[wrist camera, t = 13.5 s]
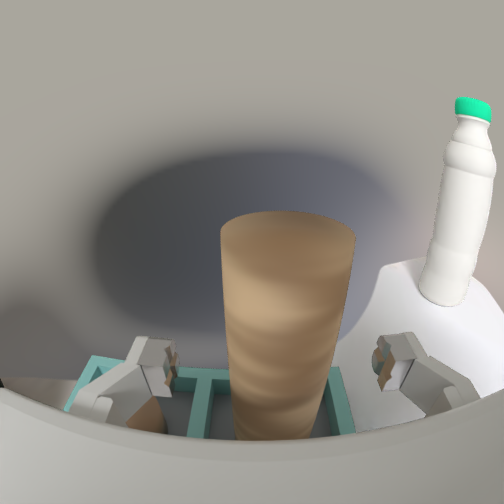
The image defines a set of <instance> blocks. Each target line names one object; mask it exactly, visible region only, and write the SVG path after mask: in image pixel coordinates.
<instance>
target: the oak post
mask: <svg viewBox="0 0 504 504" xmlns="http://www.w3.org/2000/svg"><path fill="white" fill-rule="evenodd" d="M220 233H221V234H220V235H221V257H222V275H223V294H224V308H225V309H224V310H225V325H226V339H227V353H228V365H229V378H230V389H231V401H232V411H233V422H234V432H235V440H240V441H273V440H296V439H309V437H310V434H311V431H312V428H313V425H314V422H315V419H316V416H317V412H318V409H319V406H320V402H321V399H322V396H323V392H324V389H325V385H326V382H327V378H328V374H329V370H330V367H331V363H332V359H333V355H334V351H335V347H336V342H337V338H338V334H339V329H340V325H341V319H342V315H343V311H344V306H345V301H346V296H347V290H348V284H349V279H350V274H351V268H352V262H353V255H354V248H355V241H356V237H355V234H354V232H353V231H352V230H351V229H350V228H349V227H347V226H346V225H344V224H342V223H341V222H338V221H336V220H334V219H331V218H328V217H325V216H321V215H316V214H311V213H305V212H295V211H266V212H256V213H251V214H247V215H243V216H239V217H236V218H234V219H232V220H230V221H228V222H227V223H225V224H224V225H223V227H222V228H221V232H220Z"/></svg>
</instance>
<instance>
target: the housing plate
mask: <svg viewBox="0 0 504 504" xmlns="http://www.w3.org/2000/svg"><path fill="white" fill-rule="evenodd" d="M124 362H125V360H119V359H113V358H106V357H100V356H95V355H92V356H91V358H90V360H89V362H88V364H87V366H86V367H85V369H84V371H83V373H82V374H81V376H80V378H79V380H78V382H77V384H76V386H75V387H74V389H73V391H72V393H71V395H70V397H69V399H68V401H67V403H66V405H65V407H64V409H63V411H66V412H68V411H69V409H70V407H71V405H72V403H73V401H74V399H75V397H76V395H77V393H78V391H79V390H80V389H81V388H83V387H84V386H86V385H88V384H89V383H91V382H92V381H94V380H95V379H97V378H98V377H100V376H101V375H103V374H104V373H106V372H107V371H109V370H111V369H112V368H114V367H115V366H117V365H118V364H120V363H124ZM174 381H175V389H174V393H173V397H162V396H152V397H151V398H150V399H149V400H148V401H147V402H146V403H145V404H144V405H143V406H142V407H141V408H140V409H139V410H138V411H137V412H136V413H135V414H133V415H132V416H131V417H130V418H129V419H128V420H127V421H126V422H125V423H126V424H127V426H128V427H129V428H132V429H137V430H142V431H148V432H154V433H160V434H167V435H174V436H183V437H192V438H203V439H217V440H235V432H234V422H233V411H232V401H231V389H230V378H229V369H210V368H193V367H180V366H179V373H178V377H176V378H175V379H174ZM352 433H356V431H355V426H354V422H353V418H352V414H351V410H350V407H349V403H348V399H347V395H346V391H345V388H344V384H343V380H342V377H341V373H340V369H339V367H330V370H329V374H328V378H327V382H326V385H325V389H324V392H323V396H322V399H321V402H320V406H319V409H318V412H317V416H316V419H315V422H314V425H313V428H312V431H311V434H310V437H309V439H310V438H321V437H330V436H338V435H345V434H352Z"/></svg>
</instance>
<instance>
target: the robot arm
mask: <svg viewBox="0 0 504 504" xmlns="http://www.w3.org/2000/svg"><path fill="white" fill-rule="evenodd" d="M377 345H378V348H377V349H376V350H374V352H373V356H372V367H373V370H374V372H375V373H376V374H377V375H379V377H378V380H377V381H378V383H379V386H380V388H381V391H382V392H384V391H391V390H398V389H400V391H401V392H402V393H403V394H404V395H405V396H407V397H408V398H409V399H410V400H411V401H412V402H413V403H414V404H416V405H417V406H418V407H419V408H420V409H421V410H422V411H423V412H425V413H426V416H425V417H424V418H422V419H419V420H415V421H411V422H407V423H403V424H399V425H394V426H390V427H385V428H380V429H375V430H370V431H364V432H358V433H352V434H345V435H338V436H330V437H321V438H310V439H296V440H273V441H240V440H217V439H203V438H192V437H183V436H174V435H167V434H160V433H154V432H148V431H142V430H137V429H132V428H129V427H128V426H127V424H126V423H125V422H126V421H127V420H128V419H129V418H130V417H131V416H132V415H133V414H135V413H136V412H137V411H138V410H139V409H140V408H141V407H142V406H143V405H144V404H145V403H146V402H147V401H148V400H149V399H150V398H151V397H152V396H162V397H173V393H174V389H175V381H174V379H175V378H176V377H178V373H179V356H178V354H177V353H176V352H175V349H176V343H175V340H174V339H168V338H158V337H146V336H137V337H136V339H135V341H134V343H133V345H132V347H131V349H130V351H129V354H128V356H127V358H126V360H125V362H124V363H120V364H118V365H117V366H115V367H114V368H112V369H111V370H109V371H107V372H106V373H104V374H103V375H101V376H100V377H98V378H97V379H95V380H94V381H92V382H91V383H89V384H88V385H86V386H84V387H83V388H81V389H80V390H79V391H78V393H77V395H76V397H75V399H74V401H73V403H72V405H71V407H70V409H69V411H68V412H66V411H63V410H60V409H57V408H54V407H51V406H49V405H46V404H43V403H40V402H38V401H35V400H33V399H30V398H28V397H25V396H23V395H21V394H18V393H16V392H14V391H12V390H10V389H7V388H0V504H504V389H502V390H500V391H497V392H495V393H493V394H491V395H488V396H486V397H484V398H480V396H479V395H478V393H477V391H476V390H475V388H474V386H473V384H472V383H471V381H470V380H469V379H468V378H466V377H464V376H463V375H461V374H459V373H458V372H456V371H454V370H453V369H451V368H449V367H448V366H446V365H444V364H443V363H441V362H439V361H438V360H436V359H434V358H433V357H431V356H429V357H428V356H427V354H426V352H425V351H424V349H423V347H422V346H421V344H420V343H419V341H418V339H417V338H416V336H415V334H414V333H413V332H406V333H401V334H392V335H383V336H380V337H379V338H378V341H377Z"/></svg>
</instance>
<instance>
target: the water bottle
mask: <svg viewBox="0 0 504 504" xmlns="http://www.w3.org/2000/svg"><path fill="white" fill-rule="evenodd" d="M455 113H456V115H457V116H456V118H457V120H458V127H457V129H456V131H455V132H454V133H453V135H452V138H451V141H450V142H449V143H448V145H447V147H446V149H445V151H444V155H443V161H444V164H445V165H444V169H443V174H442V179H441V185H440V191H439V197H438V203H437V209H436V216H435V222H434V230H433V238H432V239H431V242H430V244H429V248H428V252H427V260H426V264H425V266H424V269H423V272H422V275H421V278H420V282H419V288H420V291H421V293H422V294H423V295H424V296H425V297H426V298H427V299H428V300H429V301H431V302H433V303H435V304H437V305H440V306H444V307H454V306H457V305H459V304H461V303H462V302H463V300H464V298H465V296H466V293H467V290H468V287H469V282H470V278H471V276H472V273H473V271H474V269H475V266H476V262H477V257H478V250H479V248H480V245H481V242H482V239H483V236H484V233H485V229H486V225H487V220H488V215H489V211H490V205H491V199H492V191H493V178H494V176H495V174H496V161H495V158H494V154H493V152H492V146H491V142H490V140H489V138H488V134H487V128H488V127H489V126H490V124H489V123H490V122H491V108H490V106H489V105H488V104H487V103H485V102H483V101H480V100H477V99H473V98H468V97H459V98H457V99H456V102H455Z"/></svg>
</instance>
